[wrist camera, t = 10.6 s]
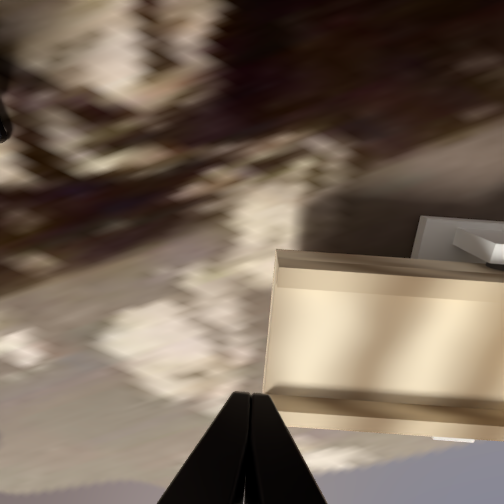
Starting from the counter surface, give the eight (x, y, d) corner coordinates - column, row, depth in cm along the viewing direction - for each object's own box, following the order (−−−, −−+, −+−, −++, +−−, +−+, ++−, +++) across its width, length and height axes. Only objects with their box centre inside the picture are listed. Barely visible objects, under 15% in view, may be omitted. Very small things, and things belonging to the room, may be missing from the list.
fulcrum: (378, 393, 23) (401, 441, 19) (420, 215, 19) (459, 232, 15) (462, 399, 23) (502, 450, 19) (522, 222, 19) (588, 242, 15)
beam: (262, 394, 20) (262, 435, 17) (276, 241, 17) (280, 261, 14) (626, 419, 20) (687, 464, 17) (708, 272, 17) (798, 297, 14)
